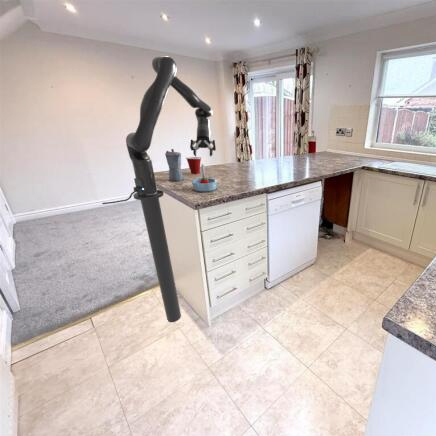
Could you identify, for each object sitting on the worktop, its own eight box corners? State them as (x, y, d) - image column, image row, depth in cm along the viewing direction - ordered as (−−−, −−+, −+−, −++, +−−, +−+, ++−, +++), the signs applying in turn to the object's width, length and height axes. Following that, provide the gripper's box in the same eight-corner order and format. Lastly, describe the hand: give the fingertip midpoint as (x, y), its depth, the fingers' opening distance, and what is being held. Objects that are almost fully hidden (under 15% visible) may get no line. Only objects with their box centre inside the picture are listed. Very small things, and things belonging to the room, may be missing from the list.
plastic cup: (206, 172, 185) (204, 156, 180) (197, 175, 175) (195, 158, 170) (194, 171, 187) (192, 155, 183) (184, 174, 178) (182, 157, 173)
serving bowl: (205, 193, 139) (204, 185, 137) (188, 189, 144) (186, 181, 142) (221, 187, 150) (221, 179, 148) (205, 184, 155) (204, 176, 153)
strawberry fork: (205, 189, 144) (202, 165, 138) (199, 188, 146) (196, 164, 140) (211, 187, 148) (208, 163, 142) (205, 186, 150) (202, 162, 144)
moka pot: (176, 183, 156) (171, 150, 148) (162, 179, 163) (156, 148, 155) (189, 180, 164) (185, 149, 156) (175, 176, 171) (170, 146, 163)
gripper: (189, 128, 145) (188, 151, 139) (214, 129, 148) (214, 151, 142) (192, 137, 152) (191, 159, 146) (216, 137, 155) (216, 159, 149)
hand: (203, 155), depth 144 cm, fingers open, 8 cm apart
